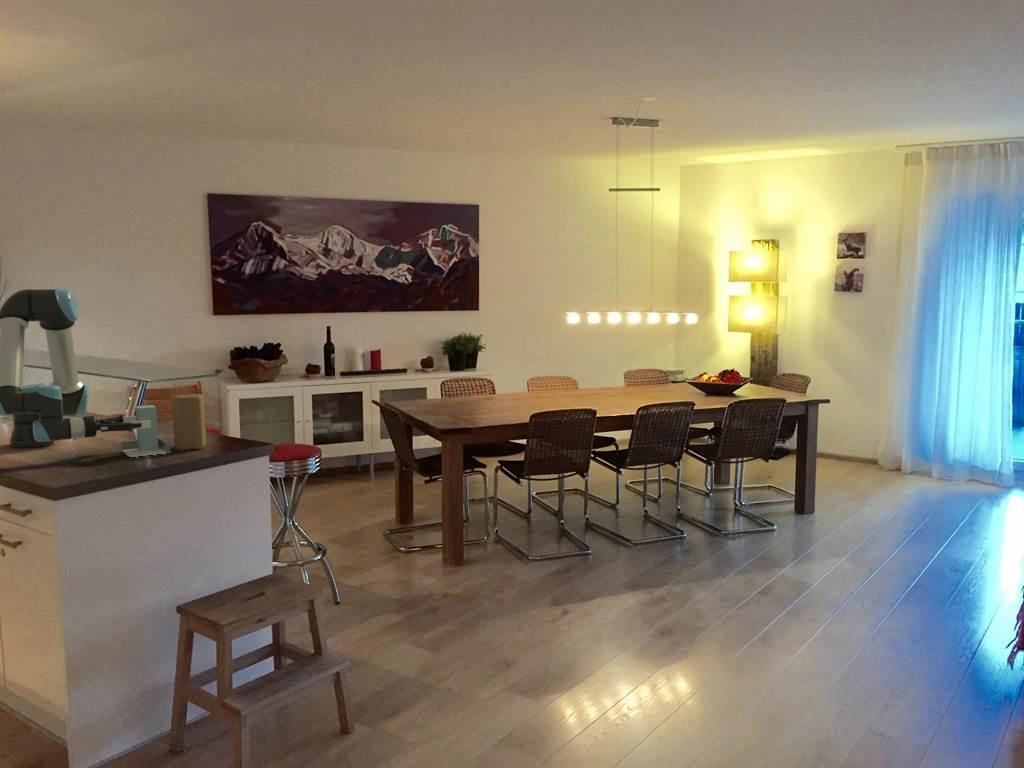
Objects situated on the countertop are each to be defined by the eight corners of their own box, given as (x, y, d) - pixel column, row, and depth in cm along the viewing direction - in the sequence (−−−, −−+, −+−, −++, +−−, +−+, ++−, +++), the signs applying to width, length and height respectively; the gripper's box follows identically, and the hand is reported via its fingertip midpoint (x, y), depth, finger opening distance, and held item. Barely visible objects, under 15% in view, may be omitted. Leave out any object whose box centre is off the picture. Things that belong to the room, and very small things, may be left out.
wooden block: (174, 450, 319) (171, 398, 317) (179, 445, 329) (176, 394, 326) (202, 449, 321) (200, 397, 319) (206, 444, 331) (204, 393, 328)
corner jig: (122, 451, 318) (121, 441, 317) (161, 447, 326) (161, 437, 325) (129, 458, 306) (128, 447, 306) (170, 453, 314) (169, 442, 314)
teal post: (137, 448, 318) (135, 406, 316) (154, 447, 321) (152, 405, 319) (141, 451, 313) (138, 408, 311) (158, 449, 316) (156, 406, 314)
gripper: (77, 432, 314) (139, 426, 327) (89, 443, 294) (154, 436, 306) (76, 412, 313) (138, 407, 326) (88, 421, 293) (153, 415, 305)
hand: (146, 421), depth 316 cm, fingers open, 13 cm apart
